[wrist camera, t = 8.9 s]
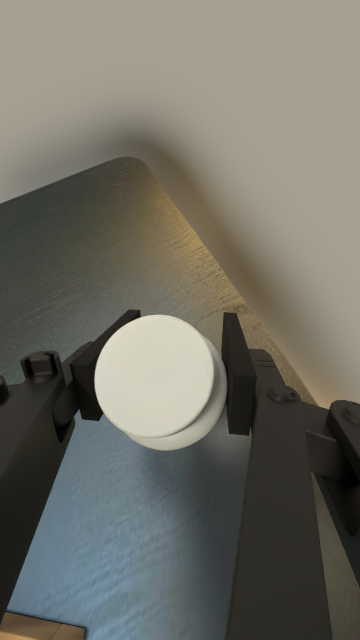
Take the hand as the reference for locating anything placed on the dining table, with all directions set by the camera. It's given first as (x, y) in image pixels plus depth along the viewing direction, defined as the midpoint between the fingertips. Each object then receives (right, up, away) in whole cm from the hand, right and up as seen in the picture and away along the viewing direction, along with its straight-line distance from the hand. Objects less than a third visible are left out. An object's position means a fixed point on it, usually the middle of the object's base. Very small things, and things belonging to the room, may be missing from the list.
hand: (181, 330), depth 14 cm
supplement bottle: (0, -5, +2) cm, 5 cm away
